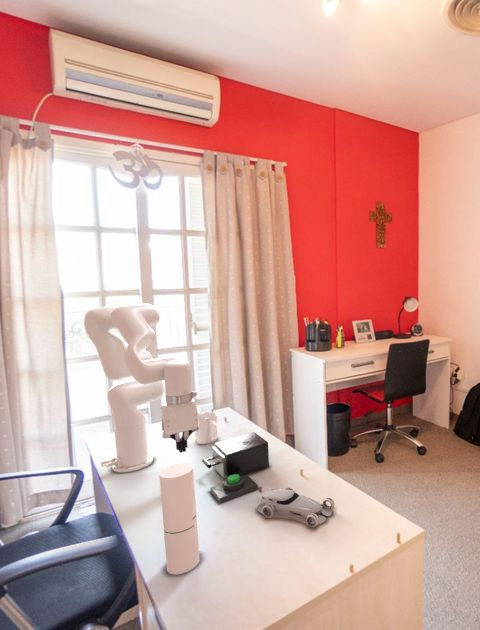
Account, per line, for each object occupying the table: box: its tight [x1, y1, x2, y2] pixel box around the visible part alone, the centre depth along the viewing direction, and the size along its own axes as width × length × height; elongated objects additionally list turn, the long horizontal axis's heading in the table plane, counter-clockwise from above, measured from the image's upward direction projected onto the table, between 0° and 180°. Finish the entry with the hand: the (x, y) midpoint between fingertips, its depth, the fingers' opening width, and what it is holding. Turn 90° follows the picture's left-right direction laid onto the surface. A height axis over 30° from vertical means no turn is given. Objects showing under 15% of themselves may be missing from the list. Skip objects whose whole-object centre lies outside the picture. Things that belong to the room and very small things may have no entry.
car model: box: [256, 487, 336, 528], centre depth 127 cm, size 11×24×5 cm, turn 71°
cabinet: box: [214, 431, 270, 479], centre depth 153 cm, size 15×13×10 cm
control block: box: [210, 474, 259, 504], centre depth 138 cm, size 12×9×4 cm
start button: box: [228, 474, 240, 484], centre depth 138 cm, size 4×4×2 cm
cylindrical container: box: [158, 462, 200, 575], centre depth 103 cm, size 7×7×25 cm
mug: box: [194, 411, 220, 445], centre depth 175 cm, size 12×9×11 cm
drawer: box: [201, 445, 227, 480], centre depth 150 cm, size 18×11×8 cm, turn 134°
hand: (182, 450), depth 139 cm, fingers closed
